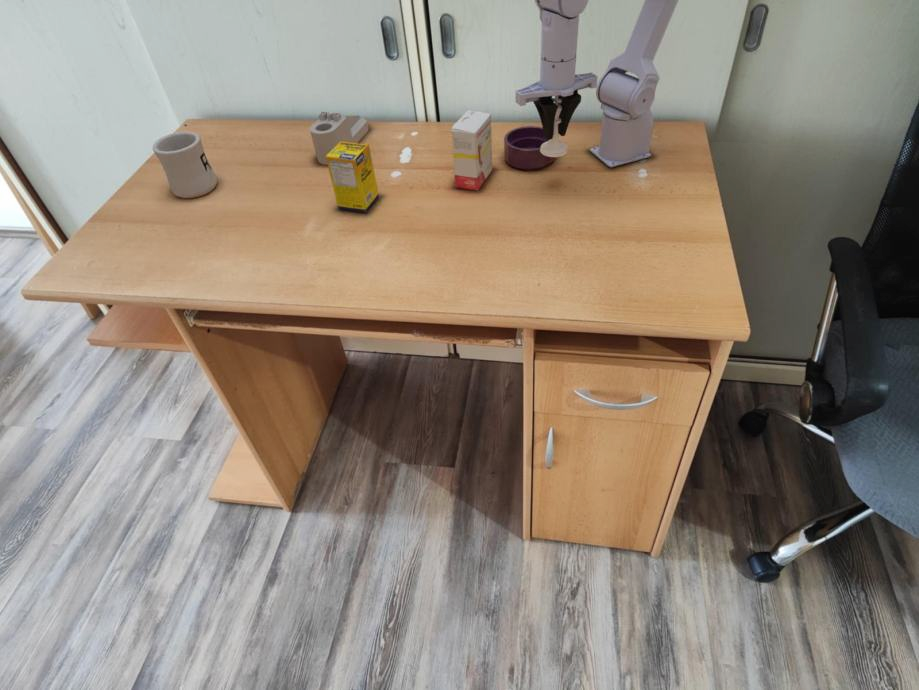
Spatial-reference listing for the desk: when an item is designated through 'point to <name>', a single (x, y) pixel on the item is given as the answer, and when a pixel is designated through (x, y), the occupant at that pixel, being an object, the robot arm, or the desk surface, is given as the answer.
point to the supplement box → (352, 176)
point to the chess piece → (555, 137)
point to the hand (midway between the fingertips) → (554, 135)
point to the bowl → (526, 148)
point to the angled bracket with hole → (336, 132)
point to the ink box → (472, 149)
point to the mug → (185, 164)
